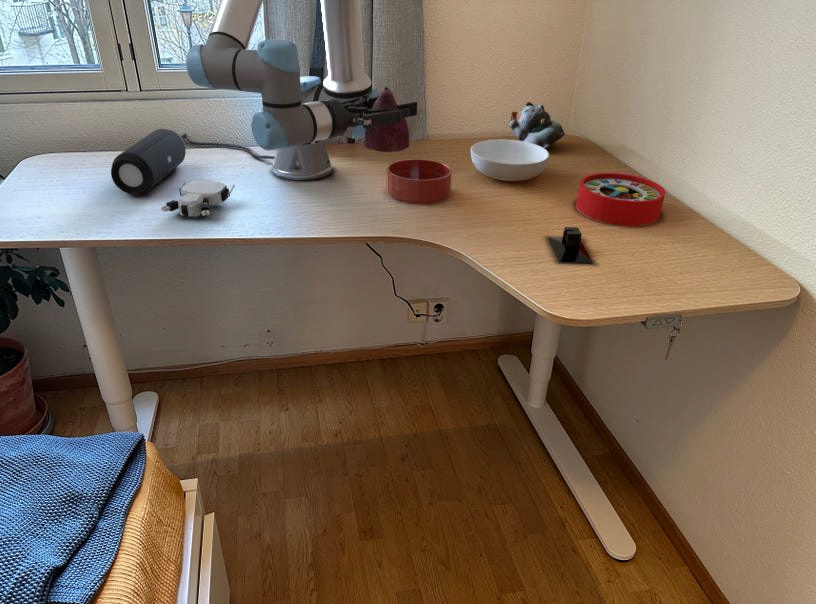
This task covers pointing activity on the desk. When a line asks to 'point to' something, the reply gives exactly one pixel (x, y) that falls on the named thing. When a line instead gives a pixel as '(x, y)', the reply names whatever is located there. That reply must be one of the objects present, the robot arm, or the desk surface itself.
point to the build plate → (570, 247)
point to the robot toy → (199, 197)
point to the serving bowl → (509, 159)
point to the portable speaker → (148, 161)
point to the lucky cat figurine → (535, 126)
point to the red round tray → (418, 181)
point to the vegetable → (387, 129)
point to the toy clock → (620, 199)
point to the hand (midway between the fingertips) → (403, 104)
